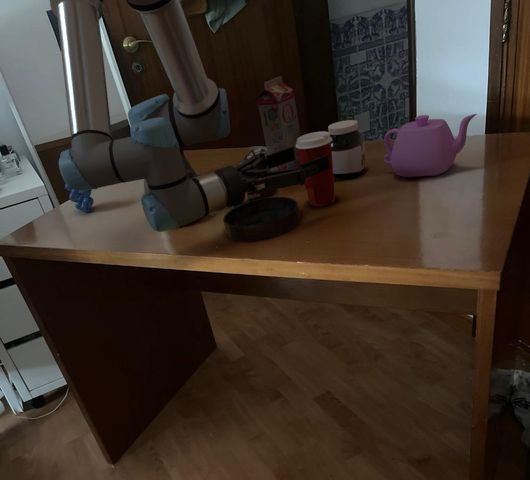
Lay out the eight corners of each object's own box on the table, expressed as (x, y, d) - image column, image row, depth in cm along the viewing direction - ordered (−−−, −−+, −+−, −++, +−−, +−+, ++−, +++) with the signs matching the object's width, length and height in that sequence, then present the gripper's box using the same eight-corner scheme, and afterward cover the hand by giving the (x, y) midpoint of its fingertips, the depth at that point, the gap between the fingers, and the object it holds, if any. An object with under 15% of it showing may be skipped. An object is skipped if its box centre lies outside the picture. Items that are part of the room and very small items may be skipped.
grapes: (111, 208, 146) (94, 164, 139) (90, 217, 142) (72, 173, 136) (90, 204, 153) (73, 162, 147) (69, 213, 150) (52, 171, 143)
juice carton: (304, 163, 143) (291, 74, 131) (289, 172, 140) (273, 81, 128) (286, 163, 148) (271, 76, 135) (271, 171, 144) (254, 83, 132)
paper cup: (345, 195, 117) (337, 129, 109) (330, 208, 112) (320, 141, 104) (314, 195, 121) (304, 131, 114) (298, 208, 116) (287, 143, 109)
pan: (215, 228, 117) (211, 215, 115) (277, 204, 121) (275, 191, 119) (246, 248, 104) (243, 233, 102) (314, 220, 109) (312, 206, 107)
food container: (272, 200, 124) (264, 157, 118) (247, 204, 125) (238, 161, 120) (281, 183, 134) (274, 142, 128) (258, 186, 135) (249, 146, 130)
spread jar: (354, 181, 123) (349, 129, 117) (311, 182, 129) (304, 132, 123) (373, 164, 131) (369, 114, 125) (332, 165, 137) (326, 118, 131)
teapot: (377, 183, 119) (372, 129, 113) (392, 163, 129) (389, 112, 122) (471, 178, 110) (471, 119, 104) (480, 158, 119) (482, 102, 113)
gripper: (201, 196, 117) (283, 166, 123) (251, 222, 97) (346, 185, 103) (192, 162, 113) (278, 133, 119) (242, 182, 93) (341, 146, 99)
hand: (310, 157), depth 111 cm, fingers open, 13 cm apart
